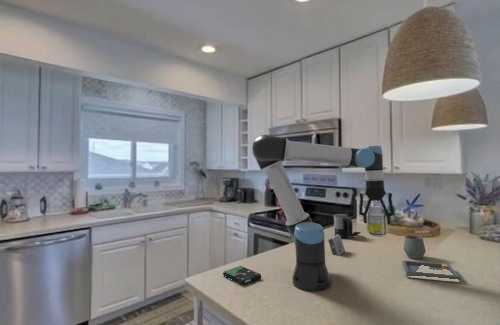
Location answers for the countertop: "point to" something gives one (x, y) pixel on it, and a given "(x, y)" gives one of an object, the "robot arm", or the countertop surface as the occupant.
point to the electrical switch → (336, 245)
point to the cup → (414, 247)
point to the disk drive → (242, 275)
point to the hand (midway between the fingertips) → (377, 230)
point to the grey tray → (413, 266)
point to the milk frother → (343, 226)
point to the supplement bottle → (376, 222)
